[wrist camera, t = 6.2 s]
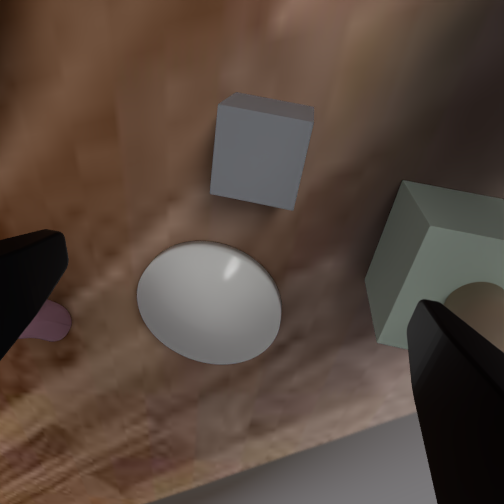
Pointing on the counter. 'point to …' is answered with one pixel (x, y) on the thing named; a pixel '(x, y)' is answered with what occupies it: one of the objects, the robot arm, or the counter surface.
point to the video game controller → (49, 323)
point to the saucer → (210, 302)
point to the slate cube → (260, 149)
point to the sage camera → (439, 261)
